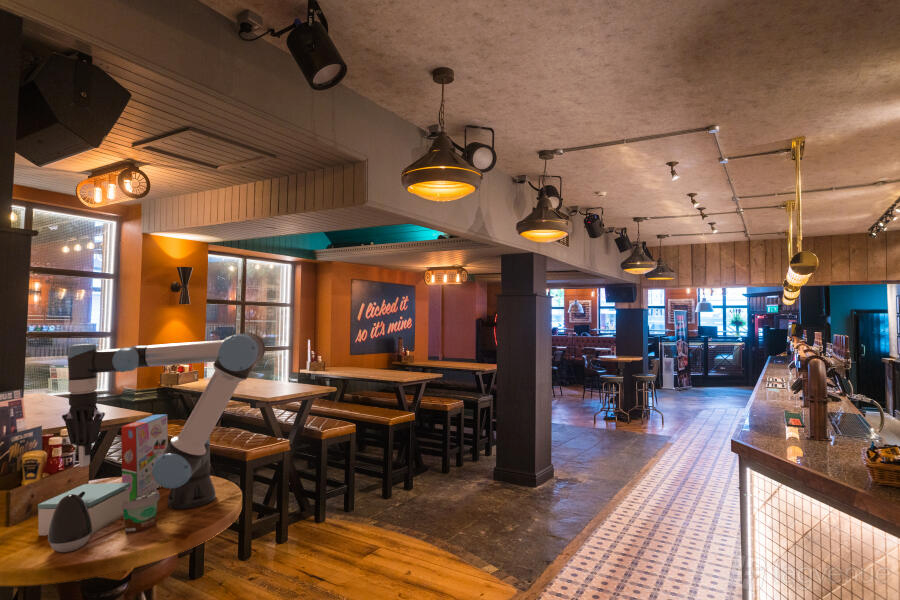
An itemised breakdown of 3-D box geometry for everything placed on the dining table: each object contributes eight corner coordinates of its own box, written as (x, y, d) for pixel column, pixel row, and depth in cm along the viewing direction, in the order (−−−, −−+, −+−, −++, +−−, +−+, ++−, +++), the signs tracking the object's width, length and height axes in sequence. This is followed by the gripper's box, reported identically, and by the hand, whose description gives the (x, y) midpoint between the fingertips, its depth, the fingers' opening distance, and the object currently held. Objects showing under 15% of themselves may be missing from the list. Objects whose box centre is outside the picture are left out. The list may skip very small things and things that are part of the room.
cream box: (129, 512, 173) (129, 488, 173) (88, 535, 155) (88, 509, 155) (84, 512, 174) (84, 488, 174) (38, 535, 156) (38, 508, 156)
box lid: (130, 486, 173) (130, 482, 173) (89, 506, 155) (89, 502, 155) (84, 487, 174) (84, 484, 174) (37, 508, 156) (37, 504, 156)
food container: (138, 537, 153) (138, 503, 153) (121, 535, 154) (121, 502, 155) (169, 520, 165) (169, 489, 166) (152, 519, 167) (152, 488, 167)
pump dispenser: (101, 539, 152) (100, 488, 152) (74, 556, 141) (73, 501, 142) (67, 540, 152) (67, 488, 153) (38, 556, 142) (38, 501, 142)
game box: (155, 483, 203) (154, 414, 203) (169, 483, 203) (168, 414, 203) (121, 503, 182) (120, 426, 182) (136, 502, 182) (136, 425, 182)
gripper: (110, 389, 169) (112, 461, 168) (73, 390, 169) (74, 462, 169) (93, 393, 161) (95, 468, 161) (54, 394, 162) (55, 469, 161)
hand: (84, 465), depth 165 cm, fingers closed
